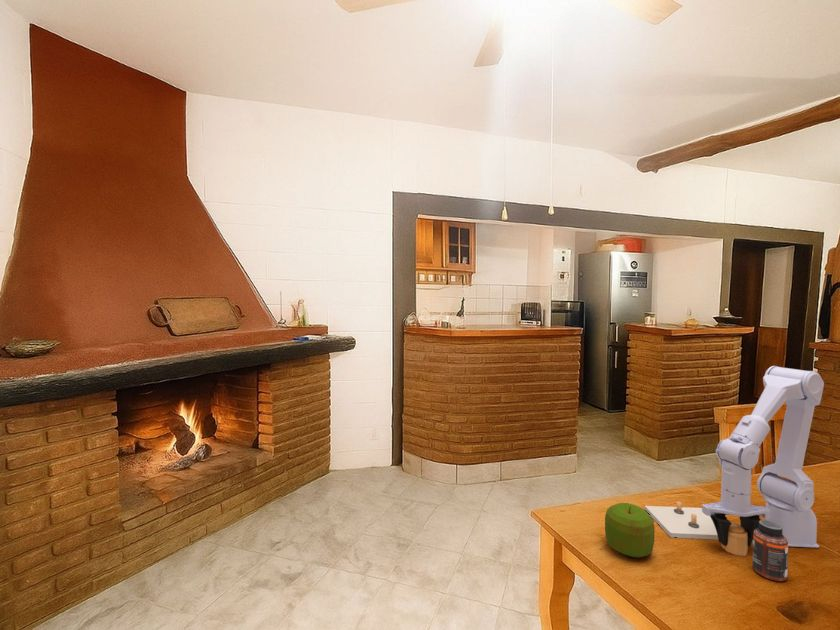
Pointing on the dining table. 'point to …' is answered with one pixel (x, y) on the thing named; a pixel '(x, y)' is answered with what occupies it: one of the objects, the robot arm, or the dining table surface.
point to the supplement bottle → (770, 551)
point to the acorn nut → (737, 540)
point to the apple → (629, 530)
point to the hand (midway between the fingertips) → (734, 543)
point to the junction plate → (683, 521)
